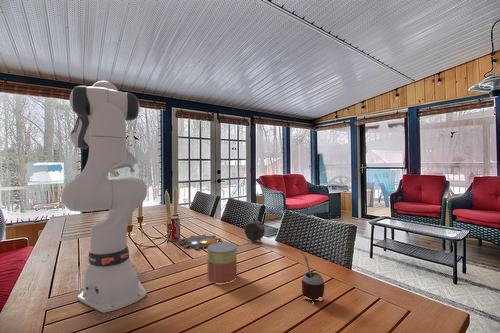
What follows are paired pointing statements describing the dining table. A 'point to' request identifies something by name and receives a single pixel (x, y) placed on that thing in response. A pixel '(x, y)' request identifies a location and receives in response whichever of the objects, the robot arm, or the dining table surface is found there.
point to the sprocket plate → (199, 241)
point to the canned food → (221, 262)
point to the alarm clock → (254, 230)
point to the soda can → (174, 229)
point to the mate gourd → (312, 283)
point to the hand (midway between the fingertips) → (125, 173)
